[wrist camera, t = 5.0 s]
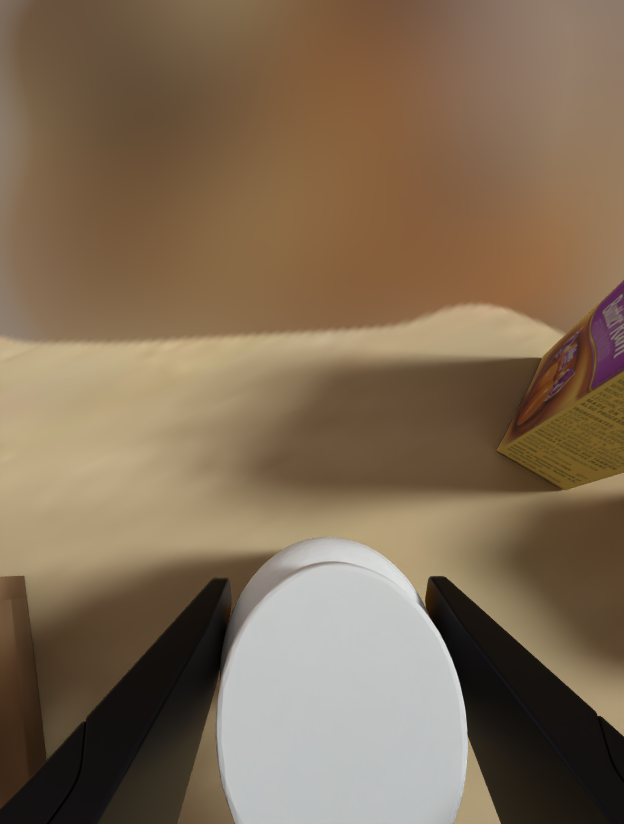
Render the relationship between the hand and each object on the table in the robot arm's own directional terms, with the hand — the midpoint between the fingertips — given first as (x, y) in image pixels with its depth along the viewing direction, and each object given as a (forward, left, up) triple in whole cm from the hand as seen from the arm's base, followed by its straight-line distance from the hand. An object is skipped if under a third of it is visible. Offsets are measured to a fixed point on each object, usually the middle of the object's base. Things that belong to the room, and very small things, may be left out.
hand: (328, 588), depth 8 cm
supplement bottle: (-1, -1, -7) cm, 7 cm away
